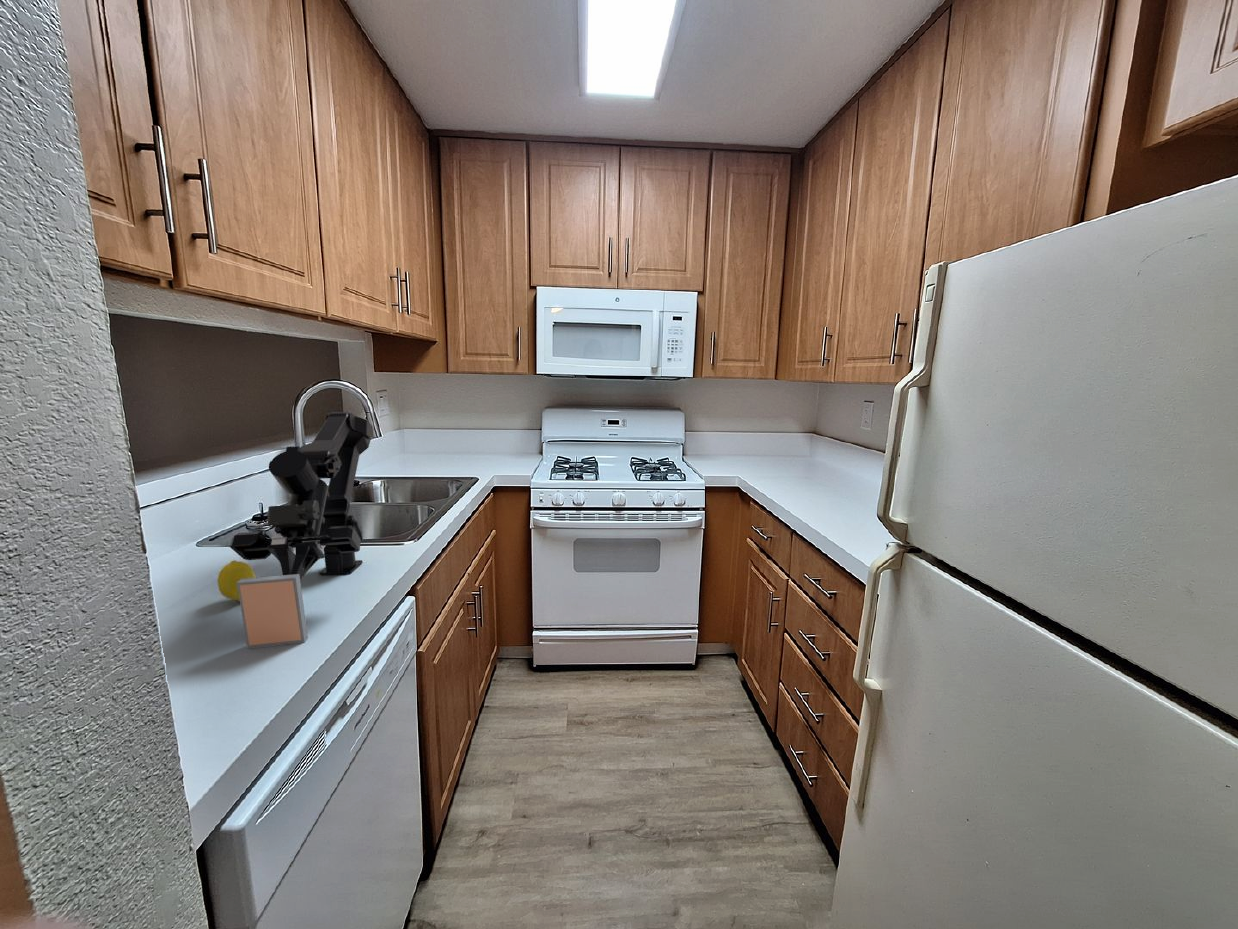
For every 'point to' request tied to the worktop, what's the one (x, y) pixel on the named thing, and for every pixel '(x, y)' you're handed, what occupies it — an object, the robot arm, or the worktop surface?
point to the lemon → (233, 578)
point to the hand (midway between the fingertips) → (289, 589)
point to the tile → (272, 610)
